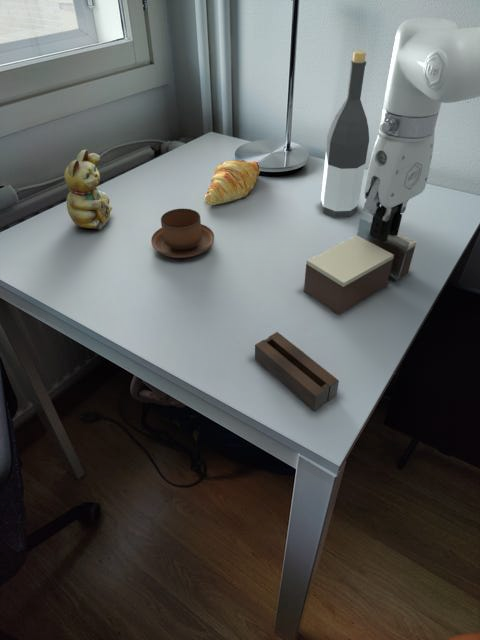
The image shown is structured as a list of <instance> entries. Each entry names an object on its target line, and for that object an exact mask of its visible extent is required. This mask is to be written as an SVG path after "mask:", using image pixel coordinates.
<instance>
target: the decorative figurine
mask: <svg viewBox="0 0 480 640" xmlns="http://www.w3.org/2000/svg"><path fill="white" fill-rule="evenodd" d="M100 160H101V156H100V155H99V154H97V153H94V152H92V153H89V152H88V149H83V150H81V151H80V152H79V153H78V154H77V157H76V159H73V160H72V161H71V162H70V163H69V164H68V165H67V167H66V168H65V169H64V173H63V177H64V181H65V183H66V184H67V186H68V191H69V192H68V194H67V196H66V208H67V213H68V215H69V217H70V219H71V221H72V222H73V223H74V224H75V225H77V226H78V227H81V228H85V229H91V230H99V231H100V230H102V229H103V227H105V226H106V224H107V223H108V222H109V221H110V220H111V212H112V210H113V206H112V205H110V197H109V196H108V195H107V193H106V192H104V191H100V190H99V189H98V185H99V184H100V183H101V175H100V172H99V170H98V168H97V166H96V165H97V164H98V163H100Z"/></svg>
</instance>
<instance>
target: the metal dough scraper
mask: <svg viewBox="0 0 480 640" xmlns="http://www.w3.org/2000/svg"><path fill="white" fill-rule="evenodd" d="M380 207H382V208H383V209H384V208H385V207H384V206H382V205H381V204H380ZM397 210H398V205H397V206H394V207H392V209H391V214H390V218H389V219H390V220H391V225H390V229H389V234H388V238H387V241H385V242H382V241H380V240H378V239H376V238H374V237H372V236H370V229H371V224H372V221H369V220H367V219H366V218H364V217H360V218H359V223H358V226H357V232H356V235H357V236H359V237H361V238H363V239H365V240H367V241H369V242H371V243H372V244H374V245H376V246H378V247H380V248H382V249H384V250H386V251H388V252H390V253H392V254H393V255H394V257H393V262H392V266H391V270H390V274H389V275H390V276H391V277H393V278H395V279H396V280H395V281H398V280H400V278H399V276H400V273H401V270H402V266H403V263H404V259H405V256H406V252H407V249H408V246H409V242H408V241H406V240H404V239H402V238H400V237H398V236H396V235H394V234H392V233H390V231H392V230H393V226H394V222H395V218H396V214H397Z"/></svg>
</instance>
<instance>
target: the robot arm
mask: <svg viewBox="0 0 480 640" xmlns="http://www.w3.org/2000/svg"><path fill="white" fill-rule="evenodd" d="M478 97H480V25H476V26H475V25H474V26H472V27H464V28H459V27H458V24H456V22H454V21H452V20H450V19H447V18H443V17H442V18H440V17H431V16H430V17H429V16H426V17H423V16H422V17H413V18H409V19H406V20H404V21H402V22H401V23H400V25H399V26H398V28H397V30H396V33H395V38H394V42H393V47H392V54H391V60H390V65H389V71H388V75H387V82H386V87H385V94H384V97H383V98H384V99H383V104H382V111H381V116H380V120H379V127H378V133H379V134H377V137H376V139H375V140H376V141H375V143H374V146H373V149H372V153H371V155H370V156H371V157H370V161H369V164H368V167H367V168H368V169H367V172H366V177H365V184H364V193H363V194H364V199H365V202H364V205H363V208H362V211H364V212H365V213H368V214H370V215H371V216H372V219H371V223H372V224H371V229H370V236H372V237H374V238H376V239H378V240H380V241H382V242H385V241H387V238H388V234H389V229H390V225H391V220H390V219H389V218H390V214H391V209H392V207H394V206H397V205H398V210H397V214H396V218H395V222H394V226H393V230H392V231H390V233H392V234H394V235H396V236H397V235H398V233H399V231H400V226H401V223H402V219H403V214H404V213H405V212H406V209H407V207H408V206H407V204H408V202H409V200H411V199H413V198H415V197H417V196H419V195H420V194H422V193H423V192H424V191H425V189H426V186H427V182H428V178H429V173H430V170H431V169H430V168H431V163H432V159H433V153H434V145H435V131H436V130H435V128H436V125H437V121H438V119H439V114H440V110H441V106H442V103H443V104H450V103H457V102H462V101H463V102H464V101H467V100H471V99H475V98H478ZM381 205H382V206H384V207H385V208H384V209H383V208H382V207H381Z"/></svg>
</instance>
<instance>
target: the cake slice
mask: <svg viewBox="0 0 480 640" xmlns="http://www.w3.org/2000/svg"><path fill="white" fill-rule="evenodd" d="M397 236H398V237H400V238H402V239H404V240H406V241H408V242H409V246H408V249H407V252H406V256H405V259H404V263H403V266H402V270H401V273H400V276H399V279H400V278H402V277H404V276H405V275H407V274H408V273H409V271H410V267H411V264H412V261H413V256H414V253H415V250H416V245H417V241H416V240H413V239H411V238H410V237H407V236H405V235H403V234H402V233H399V232H398V235H397ZM388 280H391V281H393V282H396V281H397V280H396V279H395V278H393V277H391V276H390V275H389V278H388Z"/></svg>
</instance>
